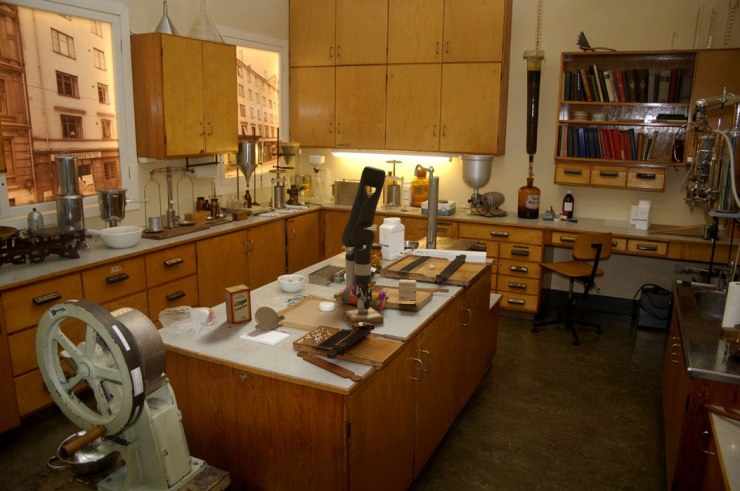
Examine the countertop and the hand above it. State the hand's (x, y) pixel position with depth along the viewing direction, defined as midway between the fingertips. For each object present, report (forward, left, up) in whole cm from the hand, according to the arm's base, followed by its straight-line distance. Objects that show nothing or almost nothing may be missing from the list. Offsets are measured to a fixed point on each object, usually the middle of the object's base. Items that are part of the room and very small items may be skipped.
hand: (363, 305), depth 258 cm
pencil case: (-16, +9, -7) cm, 20 cm away
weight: (0, 0, -4) cm, 4 cm away
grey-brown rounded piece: (-12, -42, -7) cm, 44 cm away
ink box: (-11, +29, -7) cm, 32 cm away
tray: (0, 0, -7) cm, 7 cm away
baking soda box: (-24, -52, -7) cm, 58 cm away
